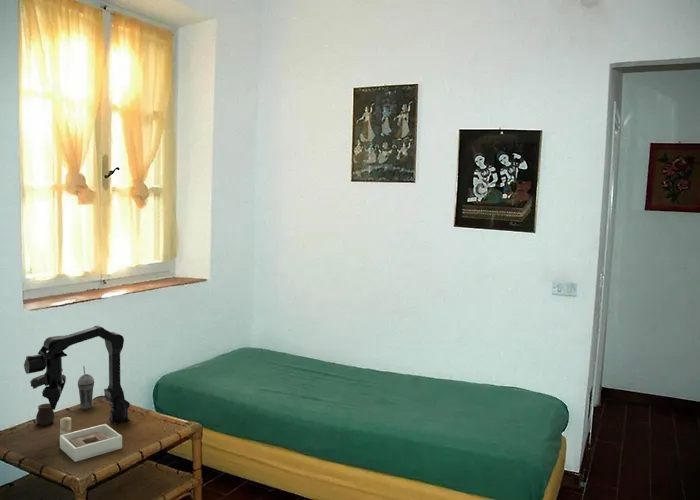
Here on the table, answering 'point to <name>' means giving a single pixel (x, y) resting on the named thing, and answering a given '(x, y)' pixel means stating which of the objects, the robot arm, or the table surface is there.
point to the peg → (65, 425)
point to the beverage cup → (86, 390)
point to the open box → (90, 449)
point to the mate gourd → (45, 414)
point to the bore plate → (88, 439)
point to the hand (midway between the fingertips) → (55, 405)
